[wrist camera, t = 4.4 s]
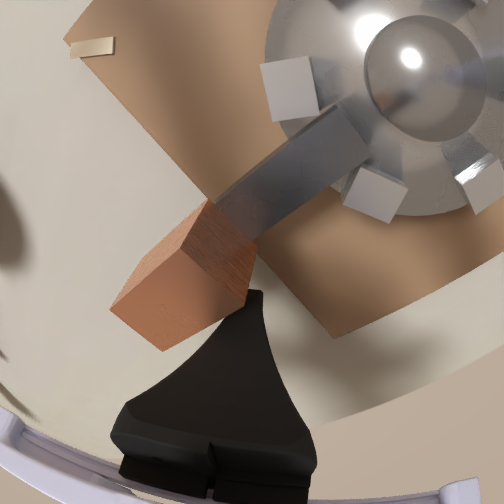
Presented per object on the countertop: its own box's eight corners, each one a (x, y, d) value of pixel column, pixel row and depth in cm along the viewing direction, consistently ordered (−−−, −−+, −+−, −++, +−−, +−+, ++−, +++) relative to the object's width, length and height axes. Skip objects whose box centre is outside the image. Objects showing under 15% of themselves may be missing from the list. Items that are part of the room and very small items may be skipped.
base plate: (360, -152, 4) (365, -166, 3) (565, 186, 12) (580, 198, 11) (77, 42, 12) (57, 44, 11) (329, 323, 20) (329, 342, 19)
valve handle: (406, -76, 6) (469, -138, 1) (531, 118, 9) (624, 171, 4) (114, 164, 14) (27, 233, 9) (257, 299, 17) (237, 402, 12)
